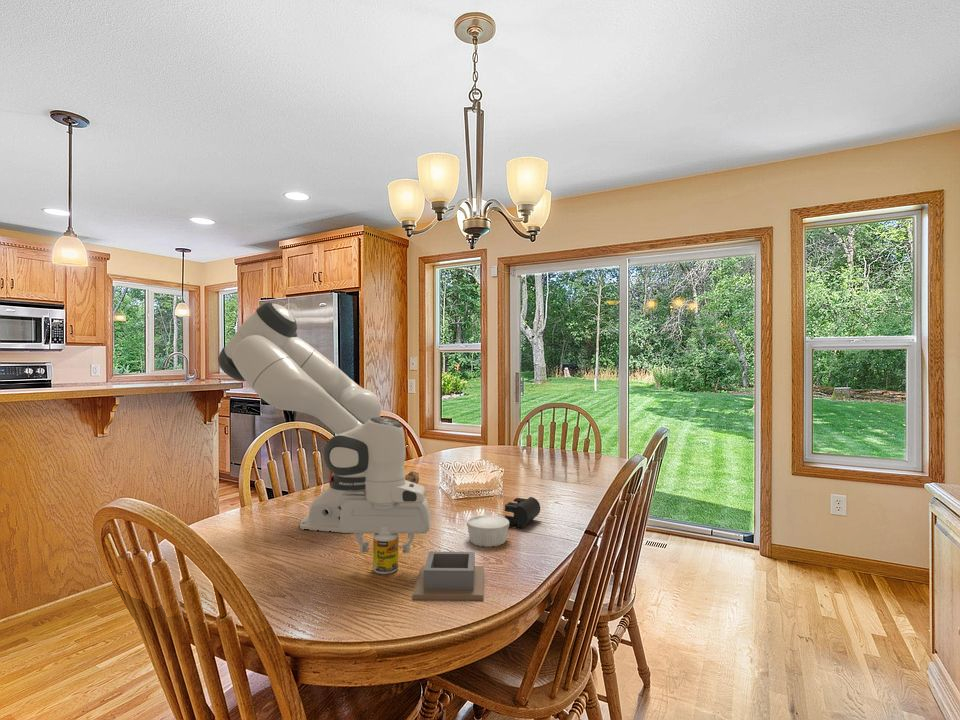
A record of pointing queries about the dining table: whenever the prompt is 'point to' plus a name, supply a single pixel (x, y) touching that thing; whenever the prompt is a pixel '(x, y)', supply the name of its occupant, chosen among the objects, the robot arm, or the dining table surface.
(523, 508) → the end cap
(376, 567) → the supplement bottle
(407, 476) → the lion figurine
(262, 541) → the dining table surface
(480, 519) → the ramekin
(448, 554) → the socket holder
